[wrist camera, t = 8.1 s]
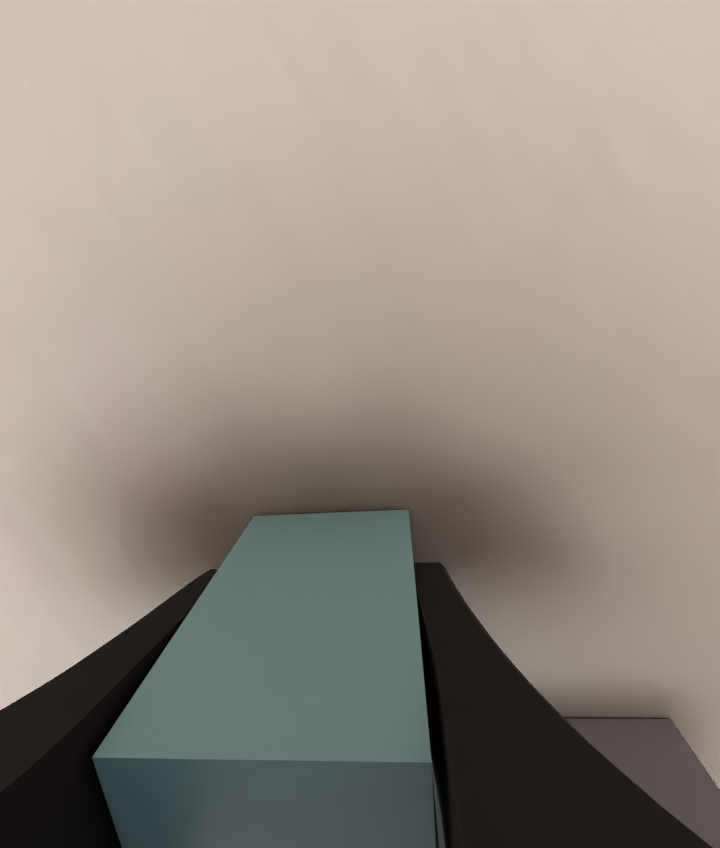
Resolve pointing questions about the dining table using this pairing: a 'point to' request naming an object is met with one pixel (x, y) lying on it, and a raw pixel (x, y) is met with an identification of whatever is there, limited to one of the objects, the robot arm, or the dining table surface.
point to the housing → (649, 770)
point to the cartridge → (285, 700)
